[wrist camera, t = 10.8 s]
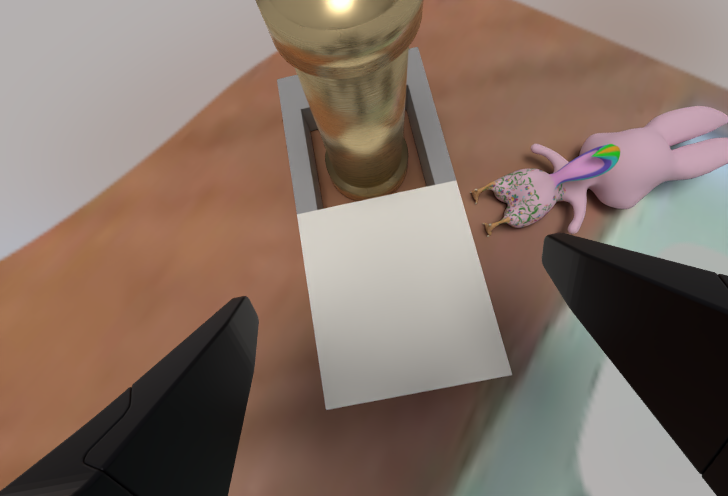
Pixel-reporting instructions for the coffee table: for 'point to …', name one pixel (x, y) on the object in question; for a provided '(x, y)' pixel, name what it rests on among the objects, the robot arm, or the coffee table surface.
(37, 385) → the coffee table surface
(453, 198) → the grey holder base
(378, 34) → the brass fitting
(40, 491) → the robot arm
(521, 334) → the coffee table surface
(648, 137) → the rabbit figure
